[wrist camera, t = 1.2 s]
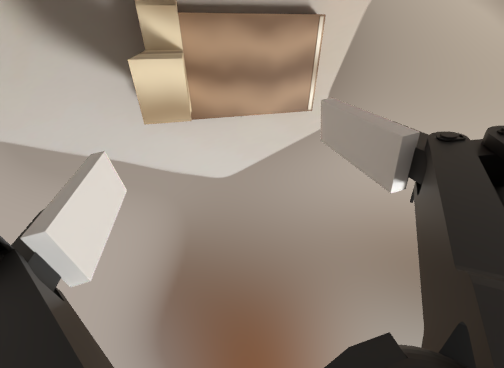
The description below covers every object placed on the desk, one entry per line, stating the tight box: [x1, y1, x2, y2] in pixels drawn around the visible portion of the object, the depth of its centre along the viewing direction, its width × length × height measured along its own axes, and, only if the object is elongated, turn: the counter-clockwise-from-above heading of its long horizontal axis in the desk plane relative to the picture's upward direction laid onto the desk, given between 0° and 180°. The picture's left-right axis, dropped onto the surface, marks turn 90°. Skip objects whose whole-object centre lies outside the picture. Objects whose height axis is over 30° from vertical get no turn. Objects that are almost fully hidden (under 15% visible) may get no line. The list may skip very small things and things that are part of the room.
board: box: [178, 12, 325, 120], centre depth 31 cm, size 12×22×2 cm, turn 90°
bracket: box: [128, 0, 192, 124], centre depth 24 cm, size 12×4×13 cm, turn 0°
